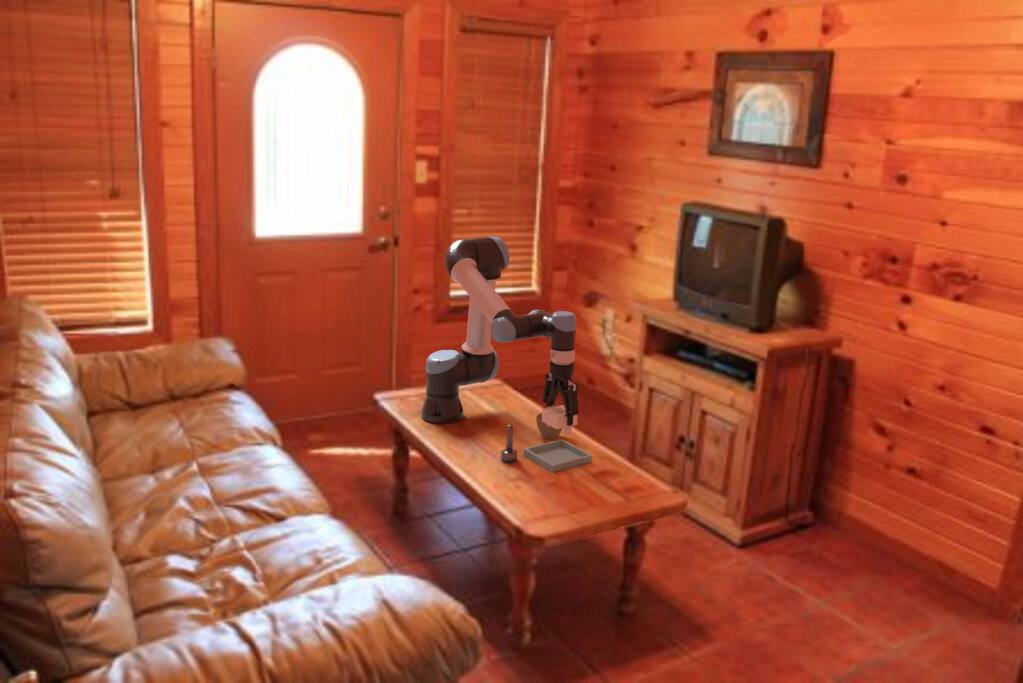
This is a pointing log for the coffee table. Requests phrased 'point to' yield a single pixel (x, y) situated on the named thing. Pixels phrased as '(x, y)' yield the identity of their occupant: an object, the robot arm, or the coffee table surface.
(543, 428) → the flower pot
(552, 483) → the coffee table surface
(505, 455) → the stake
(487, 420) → the coffee table surface
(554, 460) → the tray
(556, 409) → the ring
